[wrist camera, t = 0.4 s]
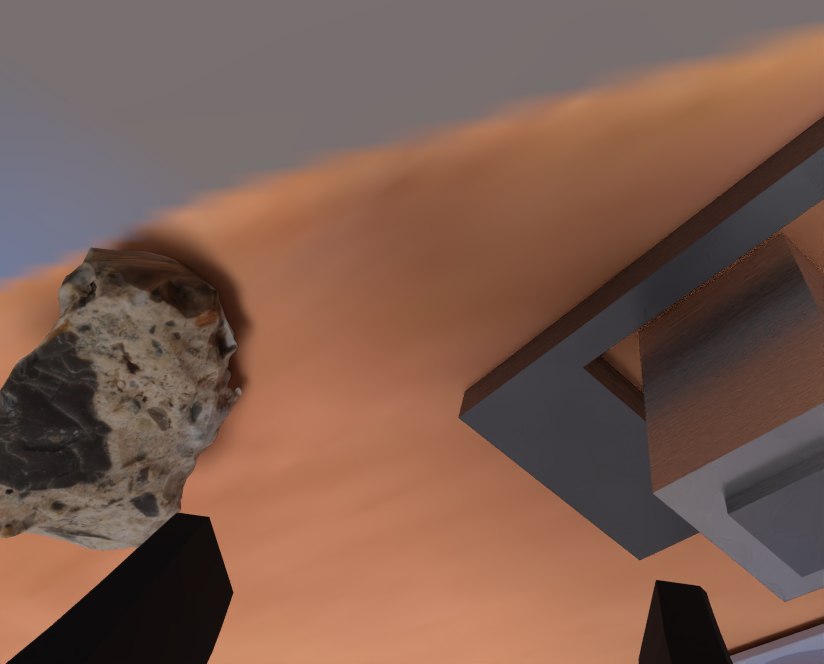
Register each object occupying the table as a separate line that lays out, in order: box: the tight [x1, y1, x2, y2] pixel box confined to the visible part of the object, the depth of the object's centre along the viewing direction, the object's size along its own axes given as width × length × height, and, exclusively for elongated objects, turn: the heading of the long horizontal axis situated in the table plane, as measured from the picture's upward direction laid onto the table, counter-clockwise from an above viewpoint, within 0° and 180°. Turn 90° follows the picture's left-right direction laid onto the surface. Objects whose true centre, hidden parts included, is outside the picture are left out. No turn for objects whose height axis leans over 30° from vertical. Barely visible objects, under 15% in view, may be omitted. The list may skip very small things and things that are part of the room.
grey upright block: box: [638, 233, 824, 602], centre depth 16 cm, size 4×4×6 cm
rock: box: [0, 248, 242, 551], centre depth 22 cm, size 9×7×10 cm
